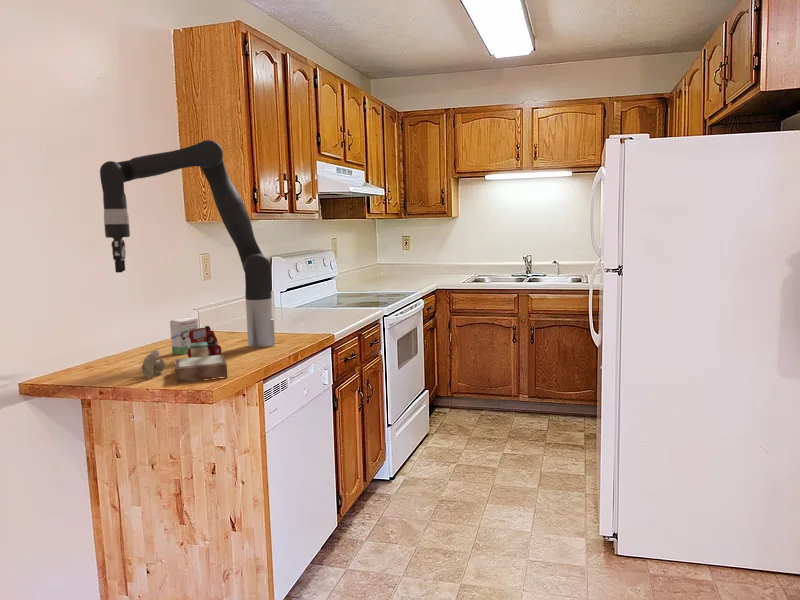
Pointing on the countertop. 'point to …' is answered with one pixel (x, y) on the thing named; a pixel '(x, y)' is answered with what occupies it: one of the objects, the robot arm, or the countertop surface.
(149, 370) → the bone
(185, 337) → the ink box
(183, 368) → the base slab
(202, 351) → the maple block
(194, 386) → the countertop surface
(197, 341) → the toy fire truck
